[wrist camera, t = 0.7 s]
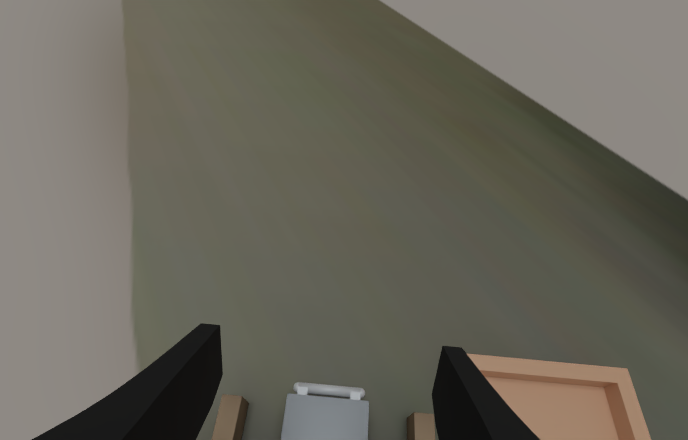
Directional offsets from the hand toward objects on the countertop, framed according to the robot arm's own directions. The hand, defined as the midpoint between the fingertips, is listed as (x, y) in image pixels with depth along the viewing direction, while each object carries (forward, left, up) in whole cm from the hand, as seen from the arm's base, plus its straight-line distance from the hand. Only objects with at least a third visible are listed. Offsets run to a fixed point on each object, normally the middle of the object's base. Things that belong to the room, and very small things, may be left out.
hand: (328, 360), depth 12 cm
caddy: (-4, 0, -16) cm, 16 cm away
